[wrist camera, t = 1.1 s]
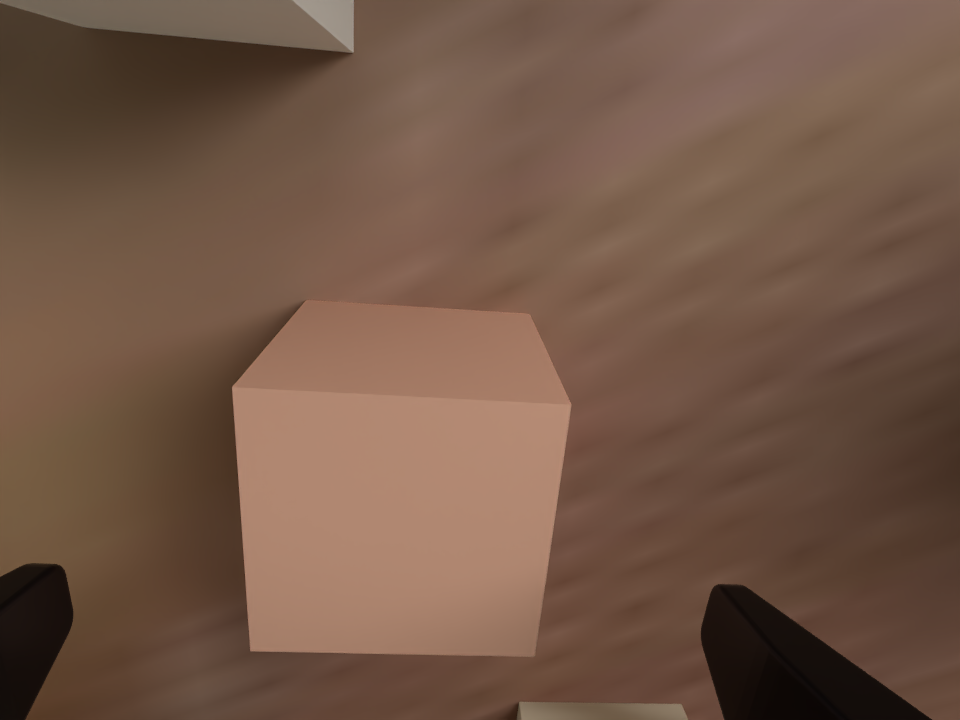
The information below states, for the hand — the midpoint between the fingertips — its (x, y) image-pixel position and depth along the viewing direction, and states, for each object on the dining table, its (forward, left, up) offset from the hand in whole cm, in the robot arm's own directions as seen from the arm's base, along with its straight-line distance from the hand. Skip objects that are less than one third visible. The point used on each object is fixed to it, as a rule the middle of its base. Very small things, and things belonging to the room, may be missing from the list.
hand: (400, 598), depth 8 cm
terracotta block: (0, 0, -6) cm, 6 cm away
